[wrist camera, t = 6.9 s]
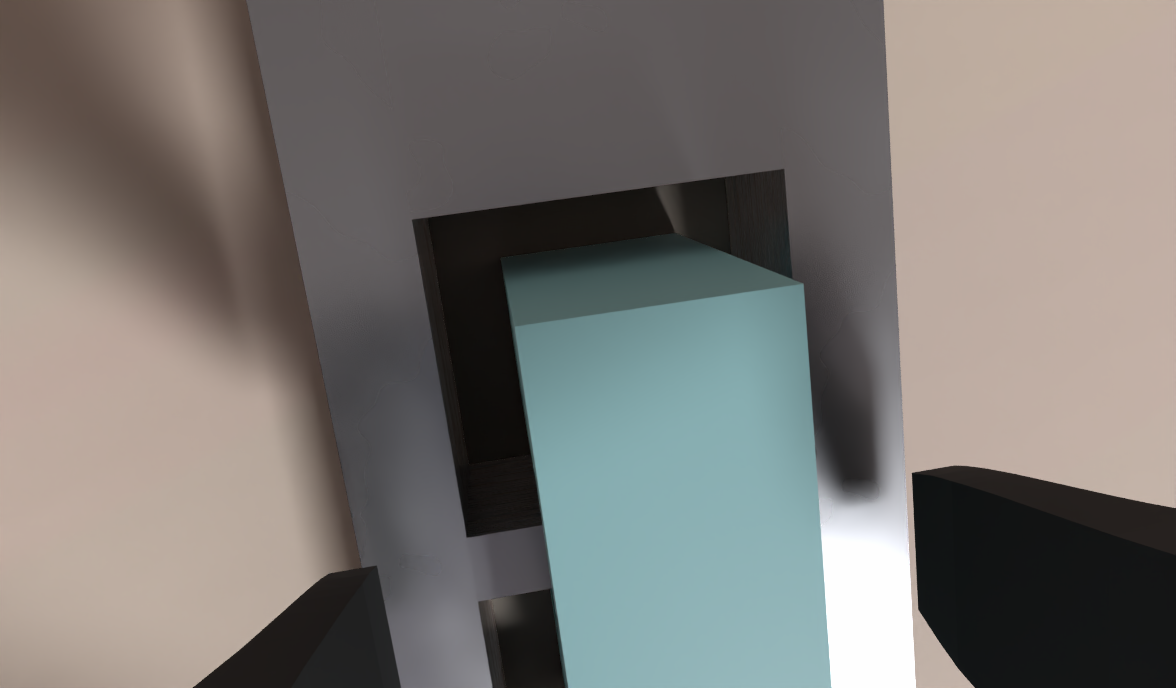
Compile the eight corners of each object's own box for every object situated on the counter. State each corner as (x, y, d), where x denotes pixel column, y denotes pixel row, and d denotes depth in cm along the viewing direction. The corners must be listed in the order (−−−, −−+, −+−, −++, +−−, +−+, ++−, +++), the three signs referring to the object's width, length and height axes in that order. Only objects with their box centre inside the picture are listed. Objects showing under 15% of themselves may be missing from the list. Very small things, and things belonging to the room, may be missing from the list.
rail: (855, 844, 18) (929, 977, 15) (468, 925, 17) (466, 1082, 14) (791, -101, 14) (874, -169, 11) (281, -46, 13) (225, -104, 10)
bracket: (718, 649, 17) (847, 917, 11) (563, 678, 16) (610, 969, 10) (675, 232, 15) (803, 283, 9) (500, 257, 14) (513, 326, 9)
